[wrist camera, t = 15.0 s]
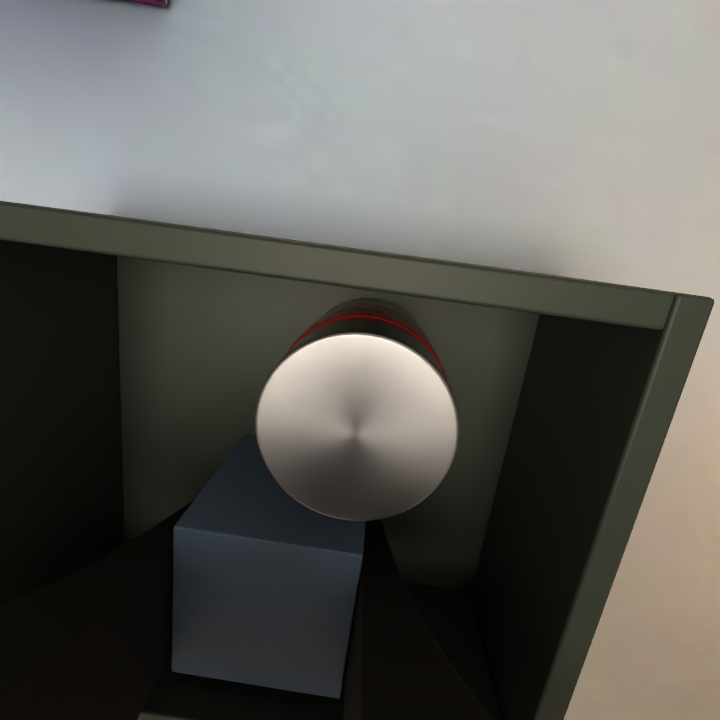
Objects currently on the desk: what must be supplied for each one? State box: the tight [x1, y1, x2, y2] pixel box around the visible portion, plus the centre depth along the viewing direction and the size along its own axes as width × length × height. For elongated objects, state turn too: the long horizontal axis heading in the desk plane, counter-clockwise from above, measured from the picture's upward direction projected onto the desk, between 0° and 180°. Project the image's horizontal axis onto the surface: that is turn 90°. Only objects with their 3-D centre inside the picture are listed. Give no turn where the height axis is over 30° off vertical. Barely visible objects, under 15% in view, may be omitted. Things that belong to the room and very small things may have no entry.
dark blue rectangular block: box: [172, 435, 366, 699], centre depth 11 cm, size 4×4×4 cm
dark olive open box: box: [0, 201, 714, 720], centre depth 10 cm, size 13×11×6 cm
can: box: [255, 298, 460, 521], centre depth 9 cm, size 4×4×5 cm
